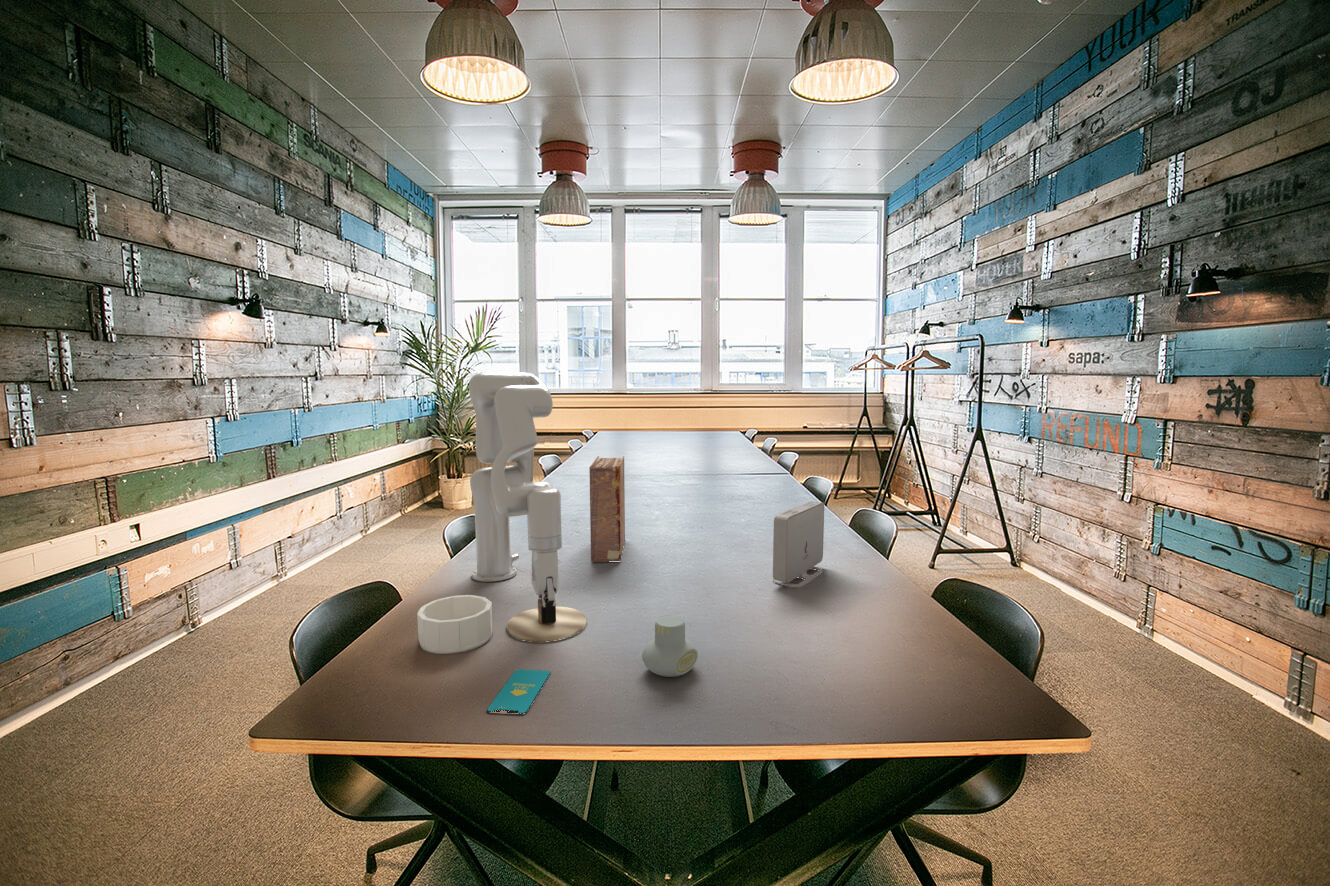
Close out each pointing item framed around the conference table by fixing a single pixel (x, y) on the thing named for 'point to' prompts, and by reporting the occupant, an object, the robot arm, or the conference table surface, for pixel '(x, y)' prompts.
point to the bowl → (455, 624)
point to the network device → (798, 543)
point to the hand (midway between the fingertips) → (547, 617)
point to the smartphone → (519, 691)
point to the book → (607, 509)
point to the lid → (533, 630)
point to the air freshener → (669, 649)
